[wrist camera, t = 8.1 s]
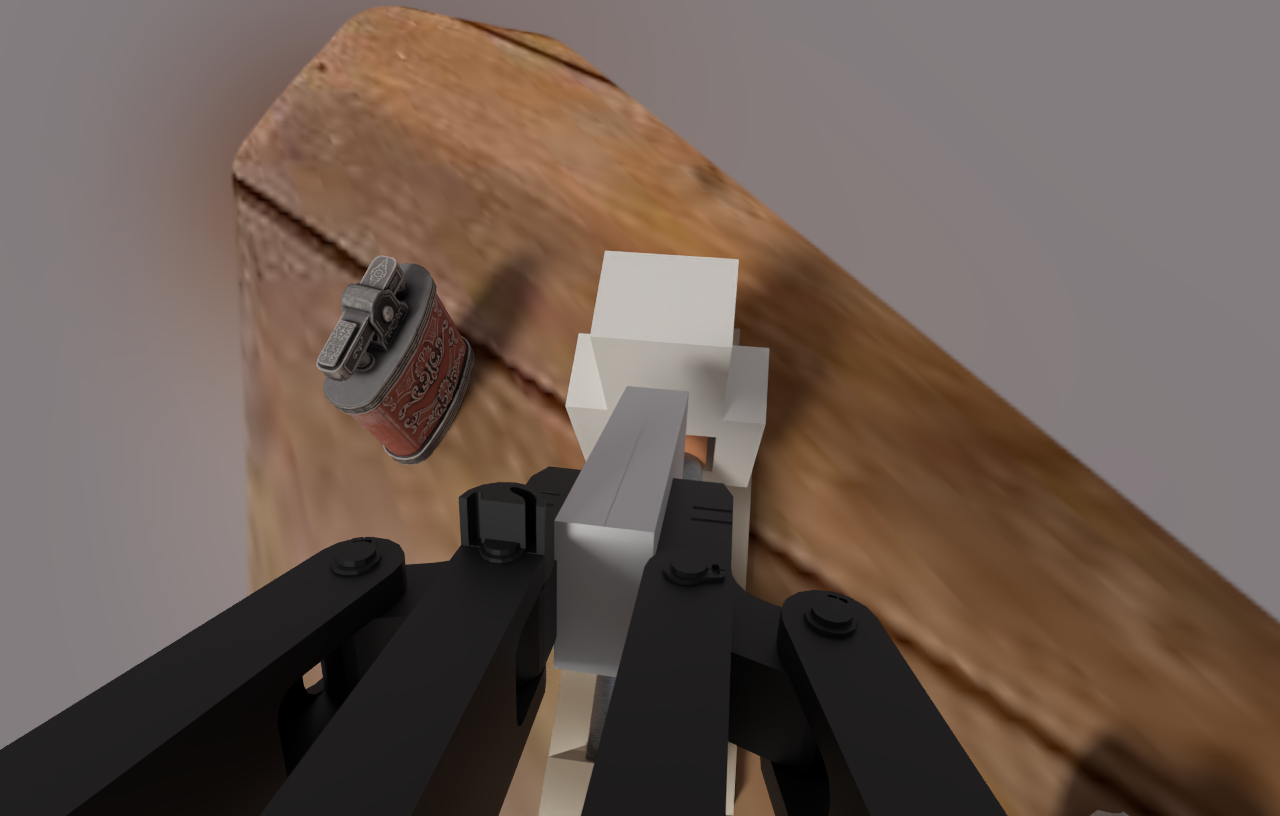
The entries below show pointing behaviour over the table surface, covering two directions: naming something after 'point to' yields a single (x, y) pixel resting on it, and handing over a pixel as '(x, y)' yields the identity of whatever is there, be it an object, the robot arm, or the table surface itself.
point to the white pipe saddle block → (673, 355)
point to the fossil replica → (1107, 813)
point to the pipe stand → (591, 693)
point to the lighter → (397, 360)
